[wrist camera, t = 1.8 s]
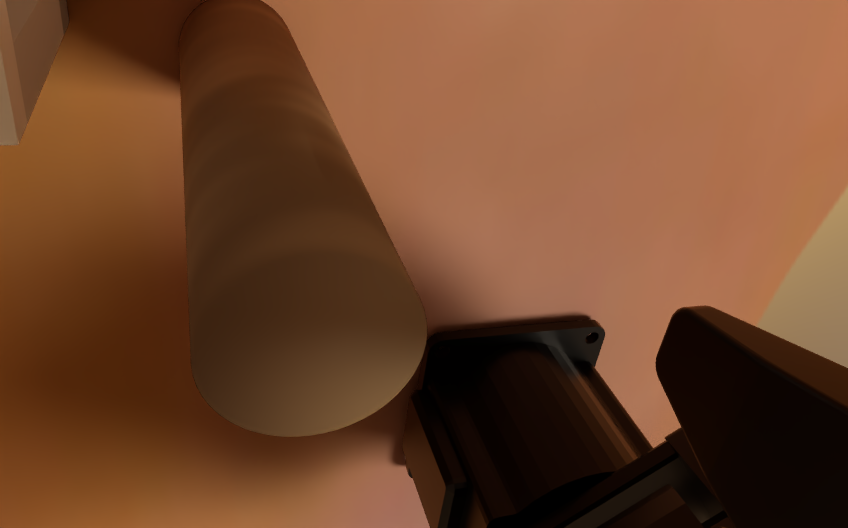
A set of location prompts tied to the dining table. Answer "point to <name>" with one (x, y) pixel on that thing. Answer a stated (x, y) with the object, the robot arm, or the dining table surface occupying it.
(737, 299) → the dining table surface
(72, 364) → the dining table surface
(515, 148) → the dining table surface
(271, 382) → the cylinder
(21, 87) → the guard
